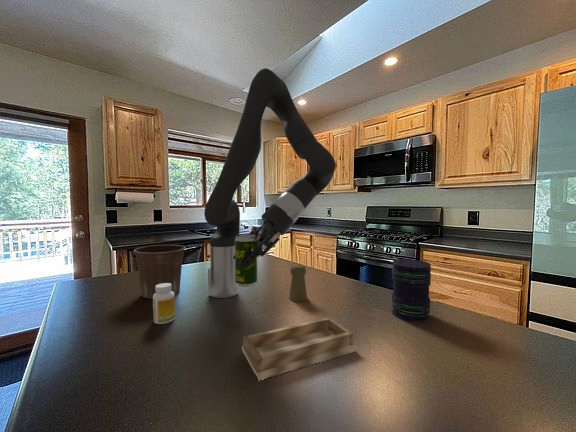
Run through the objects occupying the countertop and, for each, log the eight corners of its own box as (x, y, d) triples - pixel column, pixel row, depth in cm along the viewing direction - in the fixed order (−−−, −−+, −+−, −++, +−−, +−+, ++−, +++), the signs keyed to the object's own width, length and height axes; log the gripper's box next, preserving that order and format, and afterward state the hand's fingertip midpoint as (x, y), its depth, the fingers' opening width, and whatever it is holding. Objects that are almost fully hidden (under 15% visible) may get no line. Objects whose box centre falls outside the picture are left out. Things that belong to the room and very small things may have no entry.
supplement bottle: (179, 317, 74) (178, 283, 73) (164, 326, 69) (163, 289, 68) (164, 314, 76) (163, 281, 75) (148, 322, 71) (147, 287, 70)
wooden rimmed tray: (259, 381, 47) (258, 362, 47) (242, 350, 57) (241, 334, 57) (355, 351, 57) (356, 335, 57) (327, 329, 67) (327, 315, 67)
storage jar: (428, 311, 77) (430, 260, 77) (431, 325, 69) (432, 268, 68) (392, 305, 82) (393, 257, 81) (390, 318, 73) (391, 264, 72)
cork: (307, 295, 91) (307, 263, 90) (307, 301, 85) (307, 268, 84) (290, 294, 92) (290, 263, 91) (288, 301, 86) (288, 267, 85)
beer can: (247, 279, 70) (247, 233, 69) (261, 283, 66) (261, 235, 65) (230, 284, 65) (230, 235, 65) (245, 288, 62) (244, 238, 61)
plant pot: (195, 287, 100) (194, 244, 99) (168, 303, 84) (167, 253, 83) (156, 285, 103) (155, 243, 102) (123, 300, 87) (121, 251, 86)
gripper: (264, 202, 74) (221, 248, 70) (285, 203, 61) (235, 259, 57) (281, 221, 77) (241, 266, 72) (305, 225, 64) (259, 280, 59)
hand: (239, 262), depth 65 cm, fingers closed on beer can, 5 cm apart
